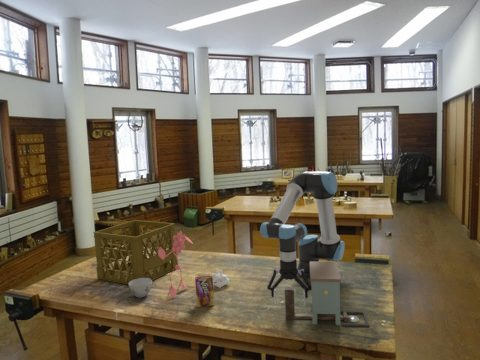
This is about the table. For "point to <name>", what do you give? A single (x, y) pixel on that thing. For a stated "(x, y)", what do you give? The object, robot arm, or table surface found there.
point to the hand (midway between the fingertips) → (289, 303)
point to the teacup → (140, 286)
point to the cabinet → (325, 289)
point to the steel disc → (353, 318)
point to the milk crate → (134, 251)
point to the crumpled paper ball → (220, 279)
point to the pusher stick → (291, 314)
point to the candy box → (204, 290)
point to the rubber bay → (356, 324)
